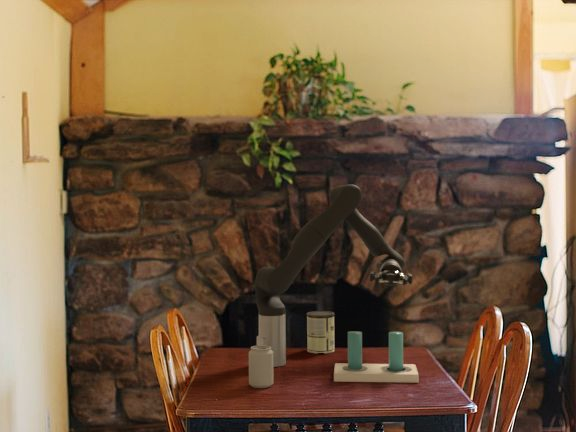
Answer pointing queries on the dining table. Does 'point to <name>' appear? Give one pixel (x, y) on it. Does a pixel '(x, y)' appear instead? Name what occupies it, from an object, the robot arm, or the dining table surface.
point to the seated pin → (354, 350)
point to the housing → (375, 373)
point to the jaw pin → (395, 351)
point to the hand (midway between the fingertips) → (391, 281)
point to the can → (261, 366)
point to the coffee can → (320, 332)
